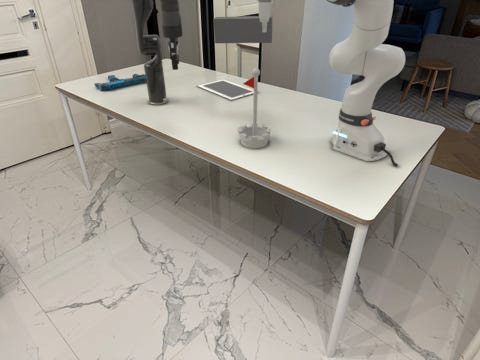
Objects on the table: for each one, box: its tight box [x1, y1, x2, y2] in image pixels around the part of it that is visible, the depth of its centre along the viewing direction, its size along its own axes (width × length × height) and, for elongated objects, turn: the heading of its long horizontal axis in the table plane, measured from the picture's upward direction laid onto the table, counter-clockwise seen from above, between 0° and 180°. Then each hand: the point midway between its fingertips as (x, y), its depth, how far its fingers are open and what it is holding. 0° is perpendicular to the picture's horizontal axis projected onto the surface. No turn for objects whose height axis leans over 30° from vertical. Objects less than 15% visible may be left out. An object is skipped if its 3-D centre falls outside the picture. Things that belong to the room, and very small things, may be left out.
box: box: [213, 15, 274, 44], centre depth 145 cm, size 24×6×10 cm, turn 84°
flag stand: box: [238, 67, 272, 149], centre depth 132 cm, size 13×13×30 cm
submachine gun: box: [94, 73, 146, 91], centre depth 208 cm, size 34×4×25 cm
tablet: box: [197, 78, 259, 101], centre depth 197 cm, size 32×20×1 cm, turn 41°
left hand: (175, 66), depth 138 cm, fingers open, 8 cm apart
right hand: (264, 30), depth 144 cm, fingers closed on box, 6 cm apart
